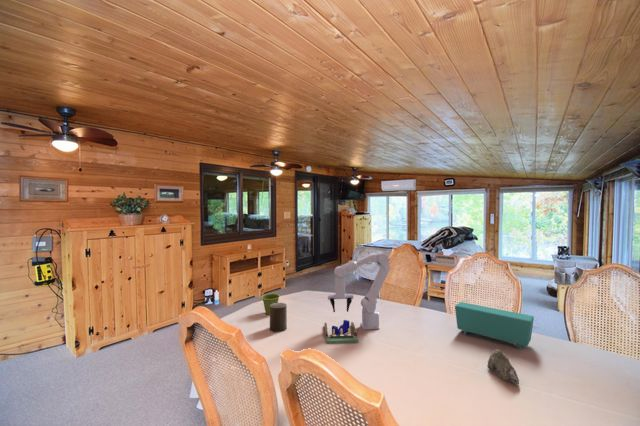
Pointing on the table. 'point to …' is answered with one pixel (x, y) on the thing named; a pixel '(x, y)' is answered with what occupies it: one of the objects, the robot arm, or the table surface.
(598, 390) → the table surface
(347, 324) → the cable clip
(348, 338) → the header board
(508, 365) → the mineral rock
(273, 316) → the pillar candle
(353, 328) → the guide rails
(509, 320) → the radio
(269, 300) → the plant pot
